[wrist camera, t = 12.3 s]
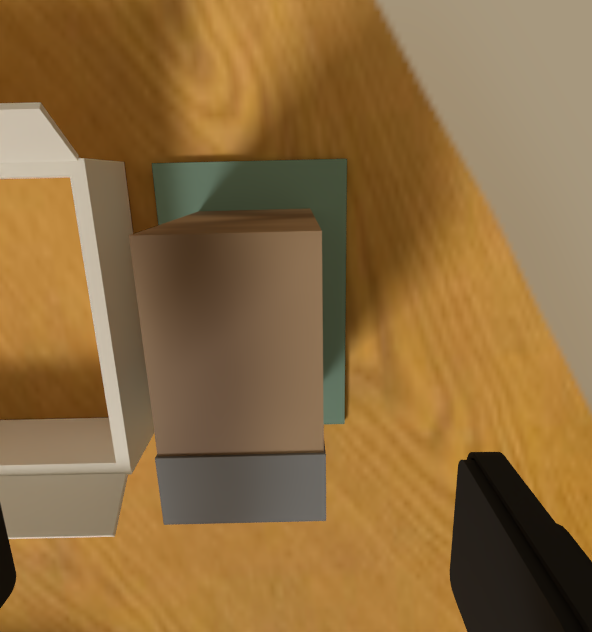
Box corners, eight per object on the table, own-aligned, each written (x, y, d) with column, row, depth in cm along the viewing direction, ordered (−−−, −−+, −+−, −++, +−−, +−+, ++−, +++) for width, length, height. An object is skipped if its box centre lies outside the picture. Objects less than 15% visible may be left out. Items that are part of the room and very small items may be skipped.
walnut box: (311, 208, 20) (324, 231, 12) (313, 390, 23) (325, 520, 14) (197, 211, 20) (125, 236, 12) (213, 393, 23) (163, 524, 14)
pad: (346, 158, 20) (347, 158, 20) (343, 420, 24) (344, 423, 24) (153, 163, 20) (151, 163, 20) (181, 424, 24) (180, 427, 24)
